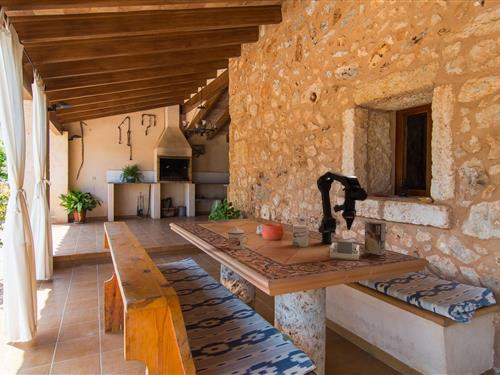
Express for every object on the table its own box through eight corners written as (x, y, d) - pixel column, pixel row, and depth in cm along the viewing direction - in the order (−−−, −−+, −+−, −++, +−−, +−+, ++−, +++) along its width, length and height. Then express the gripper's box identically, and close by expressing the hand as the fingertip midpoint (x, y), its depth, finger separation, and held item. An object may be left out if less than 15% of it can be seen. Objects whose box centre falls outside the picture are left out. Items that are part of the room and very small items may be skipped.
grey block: (338, 253, 163) (338, 239, 162) (352, 254, 160) (352, 240, 160) (337, 255, 158) (337, 240, 158) (351, 257, 156) (352, 242, 155)
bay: (332, 247, 180) (333, 242, 180) (359, 249, 175) (359, 244, 175) (329, 252, 168) (330, 247, 168) (358, 254, 163) (358, 250, 162)
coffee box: (386, 253, 166) (386, 222, 166) (381, 255, 162) (382, 224, 161) (368, 250, 173) (369, 221, 172) (363, 252, 168) (364, 222, 167)
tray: (332, 252, 166) (332, 248, 166) (359, 255, 162) (359, 250, 162) (329, 257, 157) (329, 252, 157) (358, 260, 152) (358, 255, 152)
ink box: (292, 246, 182) (292, 225, 182) (293, 244, 187) (293, 224, 187) (307, 247, 180) (307, 226, 180) (307, 245, 185) (308, 225, 184)
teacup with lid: (225, 248, 173) (225, 227, 173) (231, 245, 182) (231, 225, 181) (246, 250, 169) (246, 228, 169) (251, 247, 178) (251, 226, 178)
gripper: (336, 198, 182) (335, 225, 183) (332, 200, 165) (331, 230, 166) (356, 198, 178) (356, 226, 179) (354, 201, 161) (354, 231, 162)
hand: (349, 228), depth 171 cm, fingers open, 9 cm apart
